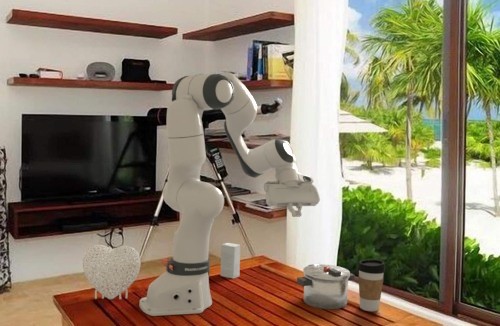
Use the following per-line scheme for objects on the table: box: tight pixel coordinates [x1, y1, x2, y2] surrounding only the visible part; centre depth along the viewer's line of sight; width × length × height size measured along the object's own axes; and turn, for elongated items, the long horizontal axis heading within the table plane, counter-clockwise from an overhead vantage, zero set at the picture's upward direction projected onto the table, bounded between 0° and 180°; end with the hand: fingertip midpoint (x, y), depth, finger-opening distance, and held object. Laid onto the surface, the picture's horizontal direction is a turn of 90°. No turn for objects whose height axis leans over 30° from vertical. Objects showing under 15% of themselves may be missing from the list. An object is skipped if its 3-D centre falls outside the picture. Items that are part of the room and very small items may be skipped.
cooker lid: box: [302, 263, 351, 281], centre depth 166 cm, size 15×16×2 cm
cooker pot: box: [296, 272, 356, 310], centre depth 166 cm, size 20×14×9 cm
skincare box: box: [220, 242, 241, 280], centre depth 189 cm, size 6×4×12 cm
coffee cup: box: [357, 259, 386, 312], centre depth 161 cm, size 8×8×15 cm
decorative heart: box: [82, 244, 142, 300], centre depth 161 cm, size 18×11×17 cm, turn 90°
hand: (297, 216), depth 180 cm, fingers closed
